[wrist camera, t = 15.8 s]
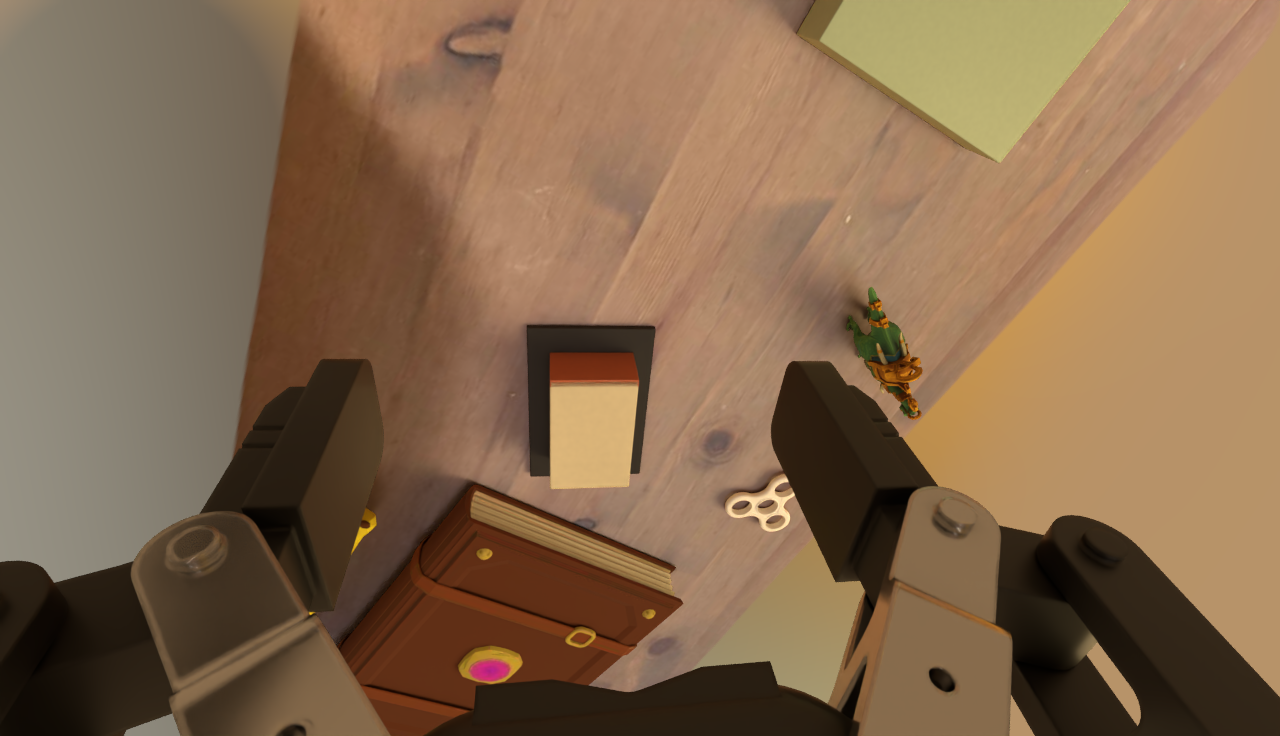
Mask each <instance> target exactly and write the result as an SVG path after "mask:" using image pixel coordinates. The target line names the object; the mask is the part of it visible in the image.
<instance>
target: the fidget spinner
mask: <svg viewBox="0 0 1280 736" xmlns="http://www.w3.org/2000/svg"><path fill="white" fill-rule="evenodd" d="M784 482H789V481H788V479H787V477H786V475H785V474H782V475H779V476H777V477H775V478H773V479H772V480H771V481H770V483H769V485H768V486H767V487H766V488H765V489H764V490H763V491H761V492H758V493H747V492H740V493H736V494H734V495H732V496H731V497H729V498H728V500H727V501H726V503H725V510H726V512H727V513H728V514H729V515H730V516H732V517H735V518H741V517H746V516H755V517H757V518H758V519H759V524H760V526H761V528H762V529H764V530H766V531H770V532H773V531H778V530H781V529H782V528H784V527H785V526H786V525H787V524H788V523H789V521H790V515H789V513H788V511H787V510H786V509H784V503H785V502H786V501H787V500H788V499H789V498H791V497H793V496H794V495H795V494H794V492H793V490H792V488H790V489H788V490H787V491H784V492H776V491H775V488H776V487H777V486H778V485H779V484H781V483H784ZM742 500H746V501H749V502H750V503H749V505H748V506H747V507H746V508H744V509H740V510H735V509H733V508H732V506H733V505H734V504H735V503H736V502H738V501H742ZM766 500H774V501H775V502H774V503H773V504H772V505H771V506H770V507H767V508H758V506H759V504H760V503H762V502H763V501H766ZM774 515H782V516H783V518H782V519H781V520H780V521H779V522H777V523H773V524H769V523H766V521H767V519H768V518H770V517H772V516H774Z"/></svg>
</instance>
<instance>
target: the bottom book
mask: <svg viewBox="0 0 1280 736" xmlns="http://www.w3.org/2000/svg"><path fill="white" fill-rule="evenodd" d="M1129 2H1130V0H816V1H815V2H814V4H813V6H812V8H811V9H810V11H809V13H808V15H807V16H806V18H805V20H804V22H803V23H802V25H801V27H800V28H799V30H798V32H797V35H798V36H800V37H801V38H803V39H804V40H806V41H807V42H809V43H810V44H812V45H813V46H814V47H816V48H817V49H819V50H820V51H822V52H823V53H825V54H826V55H828V56H829V57H831V58H832V59H834V60H835V61H837V62H838V63H840V64H841V65H843V66H844V67H846V68H847V69H849V70H850V71H852V72H853V73H855V74H856V75H858V76H859V77H861V78H862V79H864V80H865V81H866V82H868V83H869V84H871V85H872V86H874V87H875V88H877V89H878V90H880V91H881V92H883V93H884V94H886V95H887V96H889V97H890V98H892V99H893V100H895V101H896V102H898V103H899V104H901V105H902V106H904V107H905V108H907V109H908V110H910V111H911V112H913V113H914V114H915V115H917V116H918V117H920V118H921V119H923V120H924V121H926V122H927V123H929V124H930V125H932V126H933V127H935V128H936V129H938V130H939V131H941V132H942V133H944V134H945V135H947V136H948V137H950V138H951V139H953V140H954V141H956V142H957V143H959V144H960V145H962V146H963V147H964V148H966V149H968V150H970V151H973V152H975V153H977V154H979V155H982V156H984V157H986V158H988V159H990V160H993V161H995V162H997V163H1000V162H1001V161H1002V160H1003V159H1004V157H1005V156H1006V155H1007V154H1008V152H1009V151H1010V150H1011V149H1012V147H1013V146H1014V145H1015V144H1016V142H1017V141H1018V140H1019V139H1020V137H1021V136H1022V135H1023V134H1024V132H1025V131H1026V130H1027V129H1028V127H1029V126H1030V125H1031V124H1032V122H1033V121H1034V120H1035V119H1036V118H1037V116H1038V115H1039V114H1040V113H1041V111H1042V110H1043V109H1044V108H1045V106H1046V105H1047V104H1048V103H1049V101H1050V100H1051V99H1052V98H1053V96H1054V95H1055V94H1056V93H1057V91H1058V90H1059V89H1060V88H1061V86H1062V85H1063V84H1064V83H1065V81H1066V80H1067V79H1068V78H1069V76H1070V75H1071V74H1072V73H1073V71H1074V70H1075V69H1076V68H1077V66H1078V65H1079V64H1080V63H1081V61H1082V60H1083V59H1084V58H1085V56H1086V55H1087V54H1088V53H1089V51H1090V50H1091V49H1092V48H1093V46H1094V45H1095V44H1096V43H1097V41H1098V40H1099V39H1100V38H1101V36H1102V35H1103V34H1104V33H1105V31H1106V30H1107V29H1108V28H1109V26H1110V25H1111V24H1112V23H1113V21H1114V20H1115V19H1116V18H1117V16H1118V15H1119V14H1120V13H1121V12H1122V10H1123V9H1124V8H1125V7H1126V5H1127V4H1128V3H1129Z"/></svg>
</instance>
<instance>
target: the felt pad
mask: <svg viewBox="0 0 1280 736" xmlns="http://www.w3.org/2000/svg"><path fill="white" fill-rule="evenodd" d="M654 338H655V327H633V326H527V348H528V391H529V433H530V475H531V477H532V476H550V353H633V354H634V359H635V363H636V368H637V372H638V377H639V386H638V396H637V406H636V417H635V427H634V437H633V447H632V458H631V468H630V474H639V472H640V463H641V454H642V446H643V437H644V428H645V419H646V410H647V401H648V392H649V383H650V374H651V365H652V356H653V347H654Z"/></svg>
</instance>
